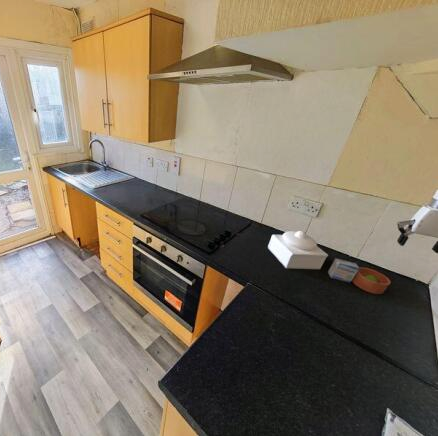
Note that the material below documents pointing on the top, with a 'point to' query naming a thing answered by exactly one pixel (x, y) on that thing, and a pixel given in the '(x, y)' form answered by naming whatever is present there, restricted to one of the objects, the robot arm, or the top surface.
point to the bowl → (369, 284)
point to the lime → (371, 278)
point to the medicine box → (343, 270)
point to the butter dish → (297, 250)
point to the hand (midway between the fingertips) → (417, 247)
